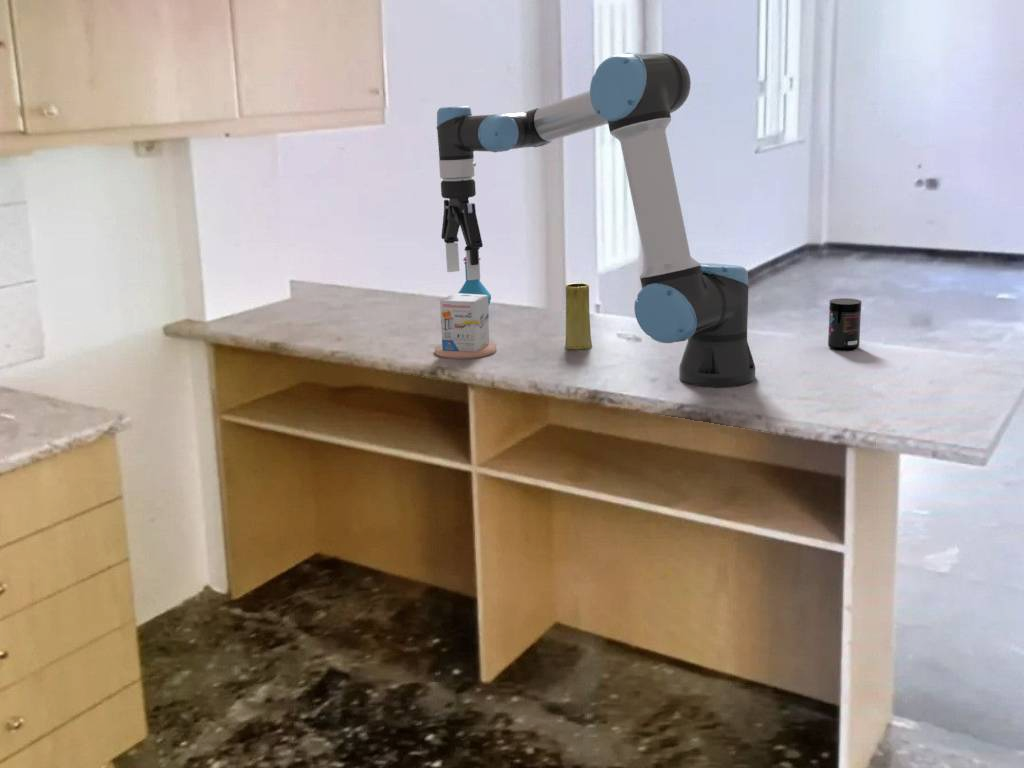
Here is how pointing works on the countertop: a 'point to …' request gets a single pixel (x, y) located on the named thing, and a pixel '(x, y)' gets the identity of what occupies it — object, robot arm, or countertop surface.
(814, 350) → the countertop surface
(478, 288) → the perfume bottle
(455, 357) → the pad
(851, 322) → the supplement container
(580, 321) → the vase
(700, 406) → the countertop surface
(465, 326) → the ink box
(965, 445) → the countertop surface
